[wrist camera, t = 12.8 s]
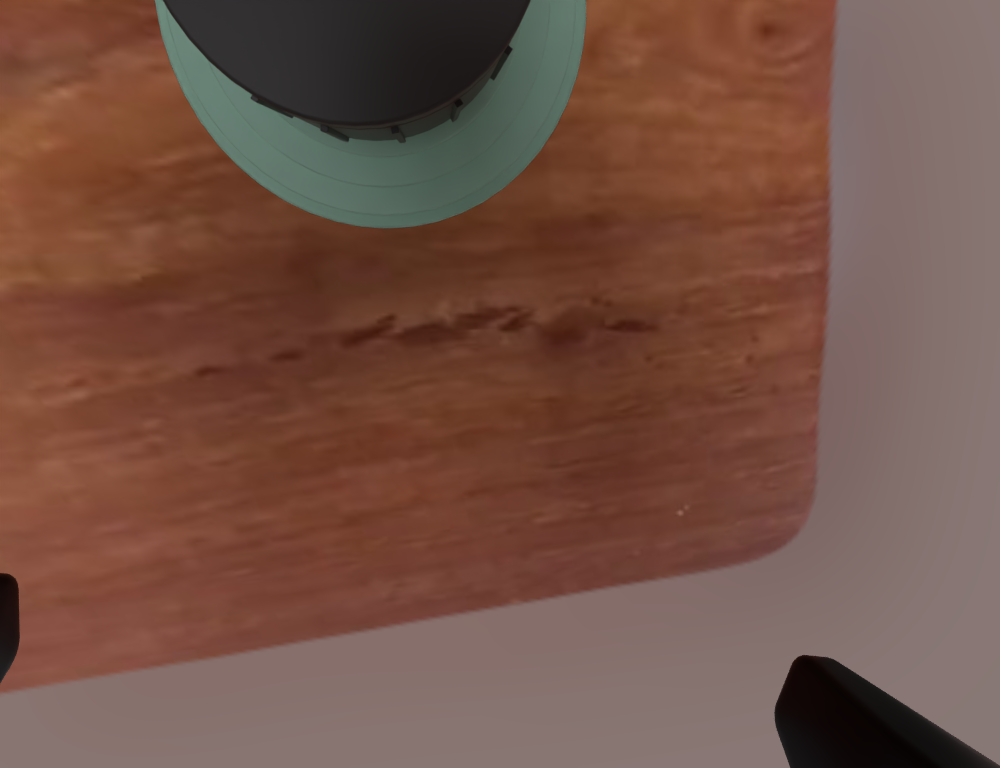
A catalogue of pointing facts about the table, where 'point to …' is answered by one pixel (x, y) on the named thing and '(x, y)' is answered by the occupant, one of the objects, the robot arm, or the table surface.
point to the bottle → (390, 164)
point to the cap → (356, 57)
